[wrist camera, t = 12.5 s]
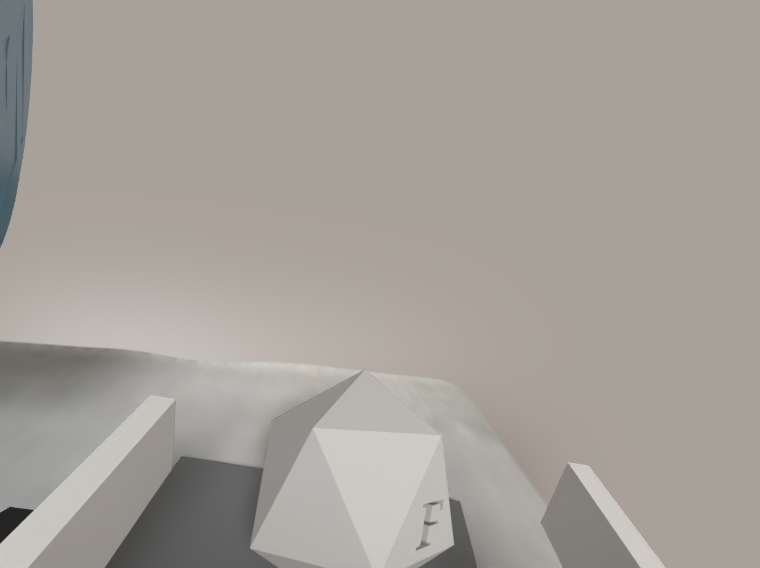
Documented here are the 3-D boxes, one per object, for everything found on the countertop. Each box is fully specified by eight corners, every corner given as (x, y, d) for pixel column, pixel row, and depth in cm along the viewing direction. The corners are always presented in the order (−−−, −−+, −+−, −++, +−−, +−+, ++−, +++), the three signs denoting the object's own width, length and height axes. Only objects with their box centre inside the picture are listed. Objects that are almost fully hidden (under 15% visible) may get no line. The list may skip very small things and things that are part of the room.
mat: (54, 645, 12) (53, 638, 12) (180, 462, 20) (181, 456, 19) (506, 700, 13) (509, 694, 13) (457, 506, 21) (459, 501, 21)
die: (211, 672, 12) (425, 616, 8) (210, 425, 17) (344, 321, 13) (366, 595, 18) (533, 542, 14) (331, 428, 23) (448, 356, 19)
